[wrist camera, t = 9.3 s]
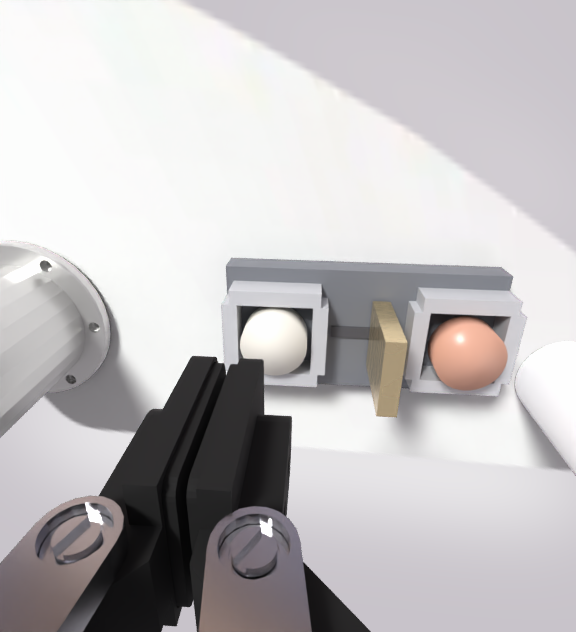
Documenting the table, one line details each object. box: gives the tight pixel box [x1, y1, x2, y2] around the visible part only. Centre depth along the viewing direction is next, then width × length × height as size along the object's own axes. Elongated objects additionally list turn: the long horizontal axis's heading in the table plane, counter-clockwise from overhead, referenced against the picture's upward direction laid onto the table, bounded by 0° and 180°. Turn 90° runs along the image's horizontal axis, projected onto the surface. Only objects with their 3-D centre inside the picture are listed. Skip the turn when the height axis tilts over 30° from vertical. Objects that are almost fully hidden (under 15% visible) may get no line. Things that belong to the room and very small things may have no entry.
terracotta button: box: [427, 316, 508, 391], centre depth 28 cm, size 4×4×2 cm
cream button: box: [240, 307, 307, 376], centre depth 29 cm, size 4×4×2 cm
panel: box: [221, 258, 527, 396], centre depth 30 cm, size 20×9×4 cm, turn 89°
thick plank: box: [366, 301, 408, 417], centre depth 27 cm, size 1×5×6 cm, turn 179°
